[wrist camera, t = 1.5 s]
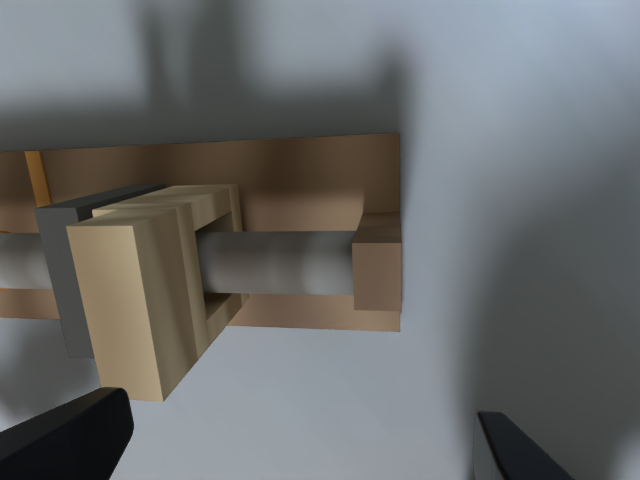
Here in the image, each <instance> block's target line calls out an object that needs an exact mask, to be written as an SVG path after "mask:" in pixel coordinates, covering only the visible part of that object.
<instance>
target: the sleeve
mask: <svg viewBox="0 0 640 480" xmlns="http://www.w3.org/2000/svg"><path fill="white" fill-rule="evenodd" d="M92 213H93V218H91V219H88V220H85V221H81V222H78V223H75V224H72V225H69V226H66V229H67V233H68V238H69V242H70V247H71V252H72V256H73V261H74V265H75V270H76V274H77V279H78V283H79V288H80V293H81V297H82V302H83V306H84V311H85V315H86V320H87V324H88V329H89V334H90V338H91V343H92V347H93V352H94V356H95V361H96V365H97V370H98V375H99V379H100V384H101V388H102V387H119V388H123V389H125V390H126V392H127V393H128V397H129V400H143V401H157V402H164V401H165V399H166V398H167V397H168V396H169V395H170V393H171V392H172V391H173V390H174V389H175V387H176V386H177V385H178V384H179V382H180V381H181V380H182V379H183V378H184V376H185V375H186V374H187V373H188V372H189V370H190V369H191V368H192V367H193V366H194V364H195V363H196V362H197V361H198V360H199V358H200V357H201V356H202V355H203V353H204V352H205V351H206V350H207V349H208V347H209V346H210V345H211V344H212V343H213V341H214V340H215V339H216V338H217V337H218V335H219V334H220V333H221V332H222V331H223V329H224V328H225V327H226V326H227V324H228V323H229V322H230V321H231V320H232V318H233V317H234V316H235V315H236V314H237V312H238V311H239V310H240V309H241V308H242V306H243V305H244V304H245V303H246V302H247V300H248V299H249V293H203V289H202V282H201V274H200V267H199V260H198V252H197V245H196V238H195V232H242V222H241V213H240V203H239V193H238V184H218V185H184V186H172V187H169V188H165V189H162V190H158V191H155V192H151V193H148V194H145V195H141V196H138V197H134V198H131V199H128V200H124V201H121V202H117V203H114V204H110V205H107V206H104V207H100V208H97V209H93V210H92Z"/></svg>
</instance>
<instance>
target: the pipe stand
mask: <svg viewBox="0 0 640 480" xmlns="http://www.w3.org/2000/svg"><path fill="white" fill-rule="evenodd" d="M133 184H165V186H166V188H169V187H172V186H184V185H218V184H238V193H239V203H240V213H241V222H242V232H195V238H196V245H197V252H198V260H199V267H200V274H201V282H202V289H203V293H249V299H248V300H247V302H246V303H245V304H244V305H243V306H242V308H241V309H240V310H239V311H238V312H237V314H236V315H235V316H234V317H233V318H232V320H231V321H230V322H229V323H228V324H227V326H253V327H281V328H309V329H337V330H364V331H392V332H400V311H401V223H400V133H382V134H361V135H341V136H320V137H299V138H279V139H258V140H238V141H217V142H196V143H176V144H155V145H134V146H114V147H93V148H73V149H52V150H31V151H11V152H0V317H2V318H30V319H58V320H60V317H59V313H58V309H57V305H56V300H55V296H54V292H53V288H52V284H51V279H50V275H49V271H48V267H47V263H46V258H45V254H44V250H43V246H42V242H41V237H40V233H39V229H38V225H37V221H36V216H35V212H34V208H38V207H42V206H47V205H51V204H55V203H59V202H63V201H67V200H71V199H75V198H80V197H84V196H88V195H92V194H96V193H100V192H104V191H109V190H113V189H117V188H121V187H125V186H129V185H133Z"/></svg>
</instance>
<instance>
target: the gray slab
mask: <svg viewBox="0 0 640 480" xmlns="http://www.w3.org/2000/svg"><path fill="white" fill-rule="evenodd" d="M165 188H166V186H165V184H133V185H129V186H125V187H121V188H117V189H113V190H109V191H104V192H100V193H96V194H92V195H88V196H84V197H80V198H75V199H71V200H67V201H63V202H59V203H55V204H51V205H47V206H42V207H38V208H34V212H35V216H36V221H37V225H38V229H39V233H40V237H41V242H42V246H43V250H44V254H45V258H46V263H47V267H48V271H49V275H50V279H51V284H52V288H53V292H54V296H55V300H56V305H57V309H58V313H59V317H60V321H61V326H62V330H63V334H64V338H65V343H66V347H67V351H68V355H69V357H74V358H93V359H95V356H94V352H93V347H92V343H91V338H90V334H89V329H88V324H87V320H86V315H85V311H84V306H83V302H82V297H81V293H80V288H79V283H78V279H77V274H76V270H75V265H74V261H73V256H72V252H71V247H70V242H69V238H68V233H67V229H66V226H69V225H72V224H75V223H78V222H81V221H85V220H88V219H91V218H93V213H92V210H93V209H97V208H100V207H104V206H107V205H110V204H114V203H117V202H121V201H124V200H128V199H131V198H134V197H138V196H141V195H145V194H148V193H151V192H155V191H158V190H162V189H165Z"/></svg>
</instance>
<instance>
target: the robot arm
mask: <svg viewBox="0 0 640 480" xmlns="http://www.w3.org/2000/svg"><path fill="white" fill-rule="evenodd" d="M133 430H134V421H133V416H132V411H131V407H130V402H129V397H128V393H127V392H126V390H125V389H123V388H119V387H102V388H99V389H97V390H95V391H93V392H90V393H88V394H86V395H83V396H81V397H79V398H77V399H74V400H72V401H70V402H68V403H65V404H63V405H61V406H59V407H56V408H54V409H52V410H49V411H47V412H45V413H43V414H40V415H38V416H36V417H34V418H31V419H29V420H27V421H24V422H22V423H20V424H18V425H15V426H13V427H11V428H9V429H6V430H4V431H2V432H0V480H109V479H110V477H111V475H112V473H113V471H114V470H115V468H116V466H117V464H118V462H119V460H120V458H121V456H122V454H123V452H124V451H125V449H126V447H127V445H128V443H129V441H130V439H131V437H132V434H133ZM473 466H474V473H475V480H575V479H574V478H573V477H572V476H571V475H569V474H568V473H567V472H566V471H565V470H564V469H563V468H562V467H561V466H560V465H559V464H558V463H556V462H555V461H554V460H553V459H552V458H551V457H550V456H549V455H548V454H547V453H546V452H545V451H543V450H542V449H541V448H540V447H539V446H538V445H537V444H536V443H535V442H534V441H533V440H532V439H530V438H529V437H528V436H527V435H526V434H525V433H524V432H523V431H522V430H521V429H520V428H519V427H517V426H516V425H515V424H514V423H513V422H512V421H511V420H510V419H509V418H508V417H507V416H506V415H504V414H503V413H501V412H493V411H477V412H476V414H475V417H474V436H473Z"/></svg>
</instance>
